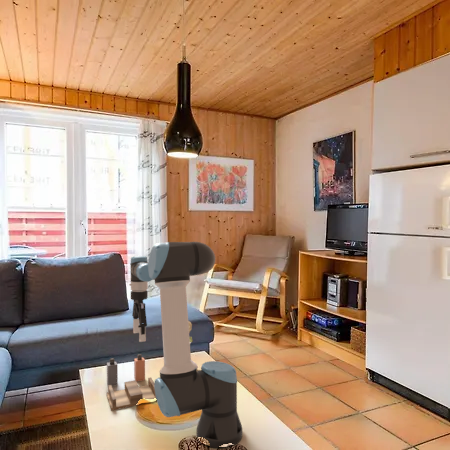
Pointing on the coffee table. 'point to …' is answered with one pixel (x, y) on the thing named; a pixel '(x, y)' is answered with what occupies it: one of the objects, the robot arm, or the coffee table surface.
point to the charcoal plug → (112, 373)
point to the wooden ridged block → (130, 394)
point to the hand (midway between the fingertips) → (139, 337)
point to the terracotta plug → (139, 368)
